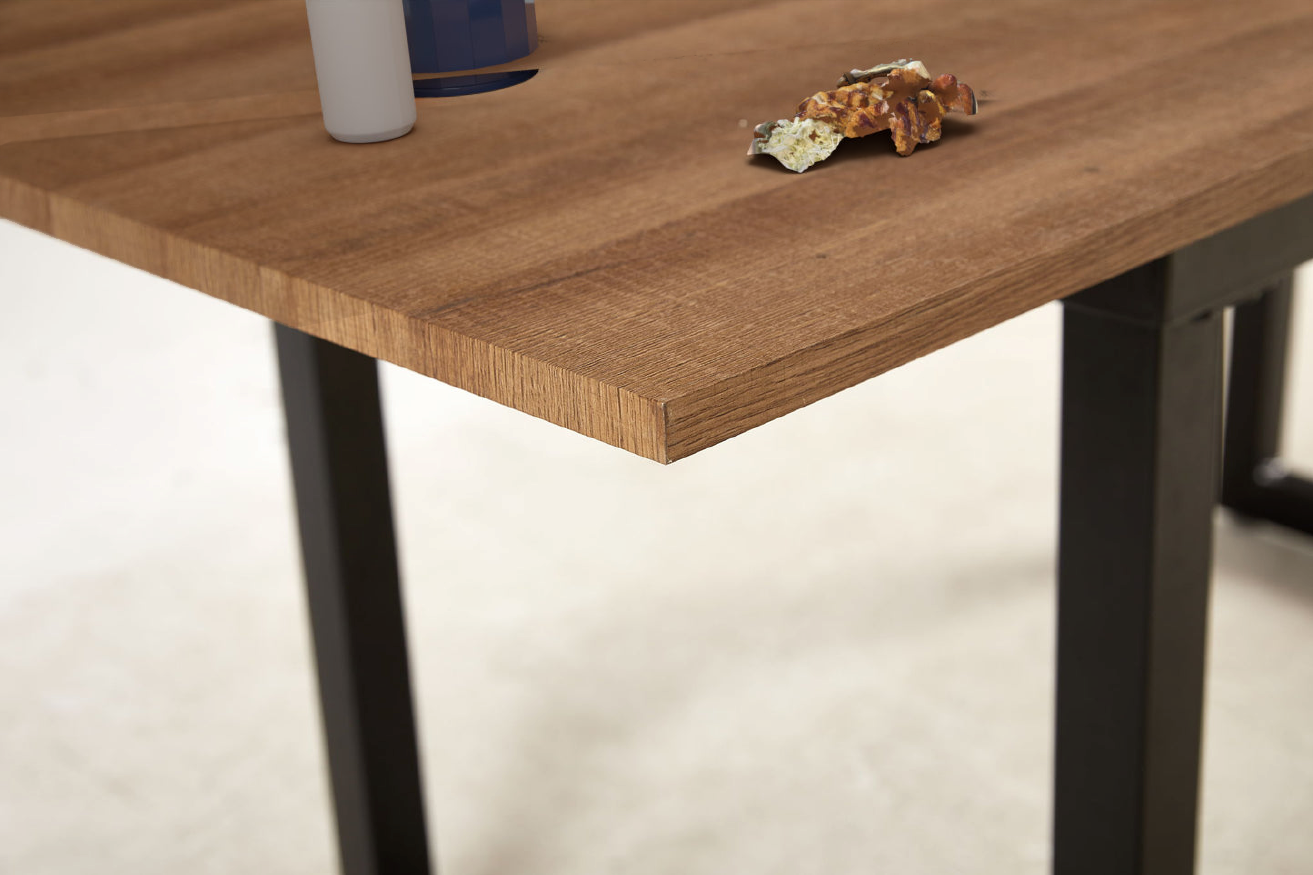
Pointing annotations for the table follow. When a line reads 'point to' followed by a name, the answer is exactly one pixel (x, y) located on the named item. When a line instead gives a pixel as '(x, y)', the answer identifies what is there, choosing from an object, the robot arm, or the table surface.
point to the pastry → (866, 113)
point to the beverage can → (362, 68)
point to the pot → (468, 43)
